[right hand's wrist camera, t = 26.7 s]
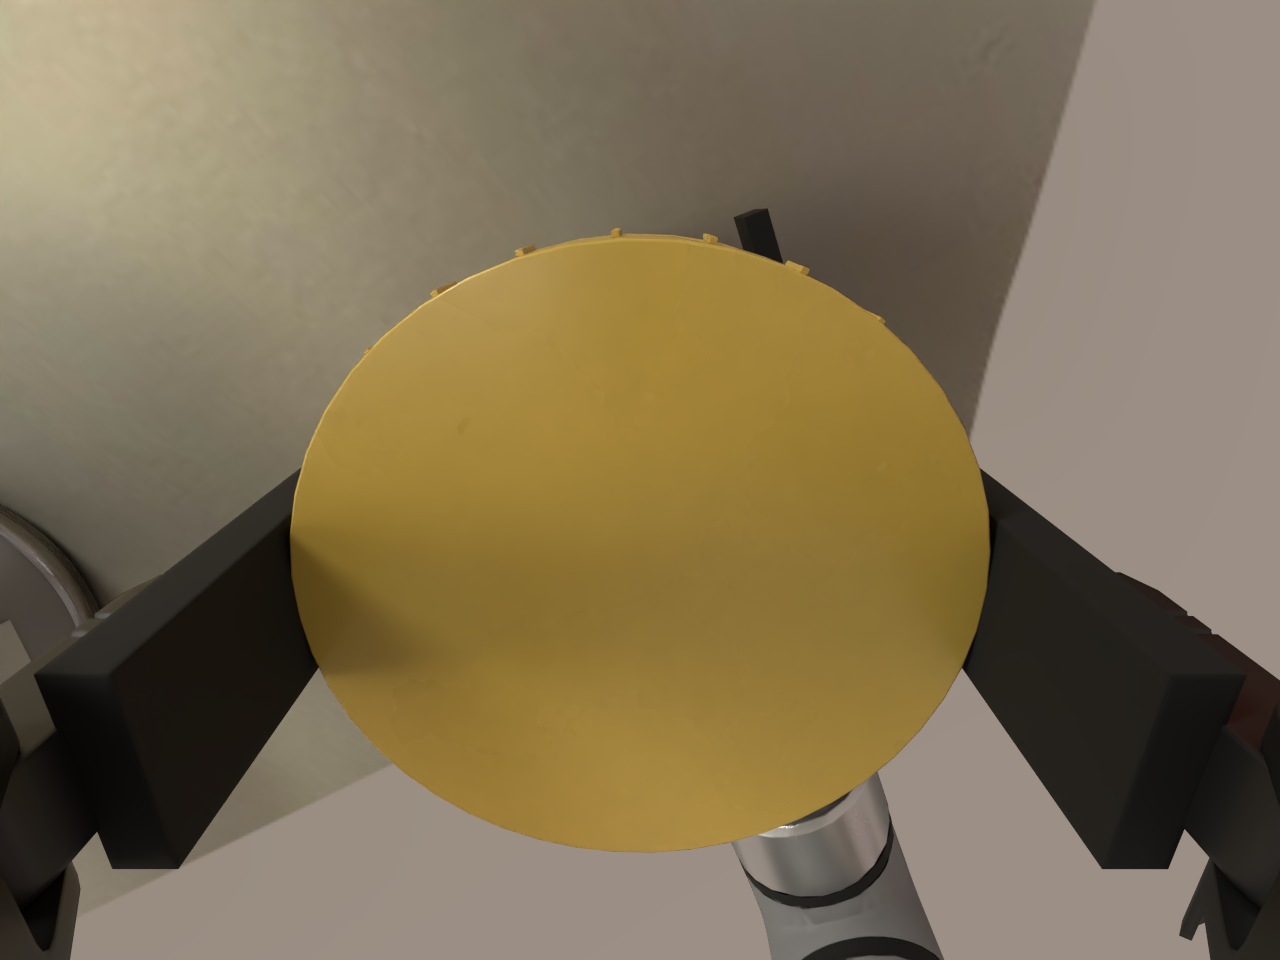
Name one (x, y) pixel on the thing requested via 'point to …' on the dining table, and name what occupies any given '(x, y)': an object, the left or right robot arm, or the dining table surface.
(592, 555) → the lid
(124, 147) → the dining table surface
